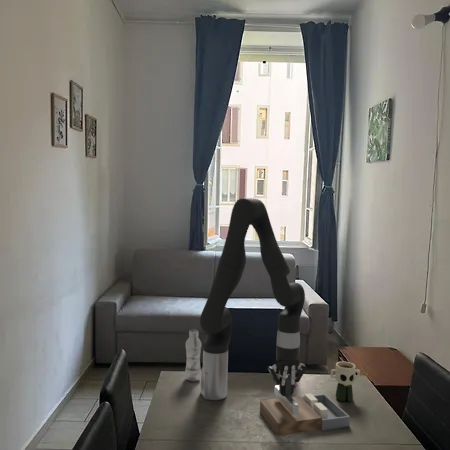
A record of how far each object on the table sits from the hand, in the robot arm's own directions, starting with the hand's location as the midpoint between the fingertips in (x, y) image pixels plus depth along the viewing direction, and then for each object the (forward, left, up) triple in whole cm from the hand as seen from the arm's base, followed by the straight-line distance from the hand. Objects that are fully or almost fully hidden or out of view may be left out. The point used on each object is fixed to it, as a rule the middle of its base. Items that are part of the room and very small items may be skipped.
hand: (286, 394), depth 151 cm
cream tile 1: (+10, +3, -6) cm, 12 cm away
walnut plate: (+2, 0, -9) cm, 9 cm away
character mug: (+28, +10, -9) cm, 31 cm away
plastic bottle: (-23, +39, -9) cm, 46 cm away
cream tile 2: (+10, -4, -6) cm, 12 cm away
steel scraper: (0, 0, -3) cm, 3 cm away
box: (+14, 0, -9) cm, 17 cm away
